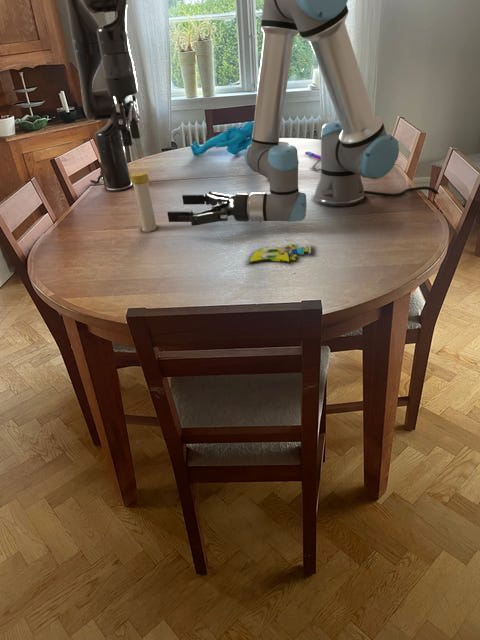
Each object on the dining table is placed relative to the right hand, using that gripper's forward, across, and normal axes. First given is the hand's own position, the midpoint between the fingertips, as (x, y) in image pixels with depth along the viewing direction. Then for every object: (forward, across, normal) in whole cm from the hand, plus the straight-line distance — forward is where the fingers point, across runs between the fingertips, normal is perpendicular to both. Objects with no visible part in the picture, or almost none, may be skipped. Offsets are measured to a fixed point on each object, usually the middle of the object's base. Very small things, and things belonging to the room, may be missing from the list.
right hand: (175, 207), depth 136 cm
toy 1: (+5, +84, -7) cm, 84 cm away
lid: (+9, 0, +10) cm, 13 cm away
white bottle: (+9, 0, -7) cm, 11 cm away
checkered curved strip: (-38, +65, -7) cm, 76 cm away
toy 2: (-32, -16, -7) cm, 36 cm away
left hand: (+9, 0, +18) cm, 21 cm away
